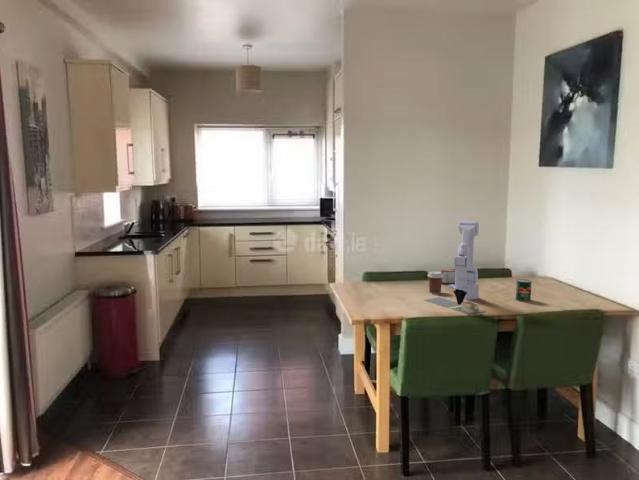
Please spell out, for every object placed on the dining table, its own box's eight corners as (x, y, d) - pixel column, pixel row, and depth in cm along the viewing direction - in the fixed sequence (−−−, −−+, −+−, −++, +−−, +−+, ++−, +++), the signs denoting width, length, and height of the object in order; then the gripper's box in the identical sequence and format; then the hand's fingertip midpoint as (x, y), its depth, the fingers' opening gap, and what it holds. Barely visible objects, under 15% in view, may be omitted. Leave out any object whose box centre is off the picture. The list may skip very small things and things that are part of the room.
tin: (461, 282, 343) (461, 269, 342) (462, 283, 340) (462, 270, 338) (437, 282, 342) (438, 269, 341) (438, 283, 339) (439, 270, 338)
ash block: (470, 308, 277) (470, 301, 276) (478, 311, 271) (478, 303, 271) (461, 310, 274) (461, 302, 274) (468, 313, 269) (469, 305, 268)
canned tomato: (521, 302, 292) (522, 282, 291) (512, 298, 300) (513, 279, 299) (533, 301, 295) (534, 281, 293) (524, 297, 302) (525, 278, 301)
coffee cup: (443, 294, 310) (443, 274, 308) (427, 293, 312) (427, 273, 310) (442, 291, 319) (443, 271, 317) (427, 290, 321) (427, 270, 319)
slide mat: (439, 298, 301) (439, 297, 301) (485, 312, 272) (485, 311, 272) (422, 300, 295) (422, 300, 295) (468, 315, 266) (468, 314, 266)
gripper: (445, 276, 281) (444, 302, 283) (465, 281, 269) (464, 308, 271) (455, 275, 285) (454, 300, 287) (475, 280, 272) (474, 306, 274)
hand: (459, 304), depth 279 cm, fingers closed
